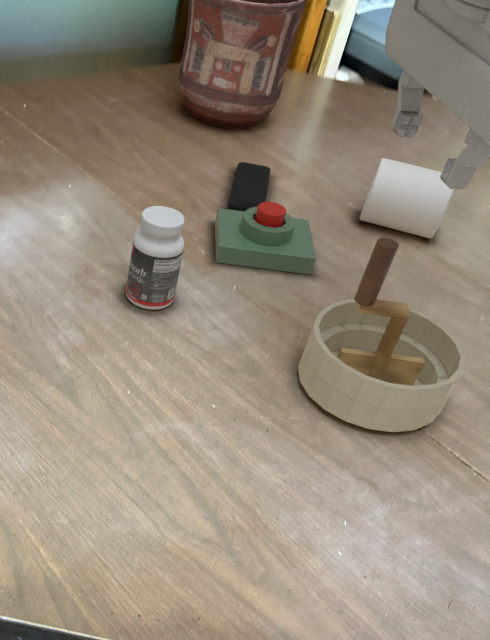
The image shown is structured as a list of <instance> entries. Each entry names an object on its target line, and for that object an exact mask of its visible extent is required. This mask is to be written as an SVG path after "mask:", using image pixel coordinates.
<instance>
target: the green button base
mask: <svg viewBox="0 0 490 640" xmlns="http://www.w3.org/2000/svg"><path fill="white" fill-rule="evenodd" d="M256 211H257V207H252V208H249V209H248V210H246V211H245V212H244V211H236V210H228V209H227V208H219V207H218V208H217V213H216V216H215V220H214V243H215V245H214V246H215V263H216V264H217V263H218V264H226V265H233V266H241V267H248V268H257V269H264V270H270V271H279V272H286V273H293V274H294V273H295V274H300V275H301V274H302V275H309V276H310V275H312V272H313V269H314V266H315V264H316V261H317V257H316V252H315V247H314V242H313V237H312V232H311V227H310V221H309V219H304V218H297V217H293V216H291V215H290V214H289V213H288V212H286V215H285V219H284V222H283V225H282V226H281V227H276V228H273V227H266V226H263V225H261V224H258V223H257V222H256V221H255V215H256Z"/></svg>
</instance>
